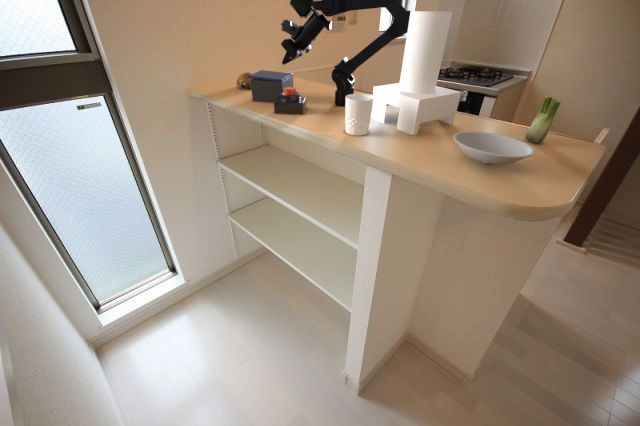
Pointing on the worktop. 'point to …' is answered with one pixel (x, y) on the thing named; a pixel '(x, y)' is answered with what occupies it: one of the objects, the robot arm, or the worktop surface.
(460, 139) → the dish
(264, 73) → the lid
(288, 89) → the button
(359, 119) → the white cup
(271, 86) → the dark grey housing
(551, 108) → the fennel bulb
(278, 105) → the red push button box
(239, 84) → the bread roll
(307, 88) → the worktop surface
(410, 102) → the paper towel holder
